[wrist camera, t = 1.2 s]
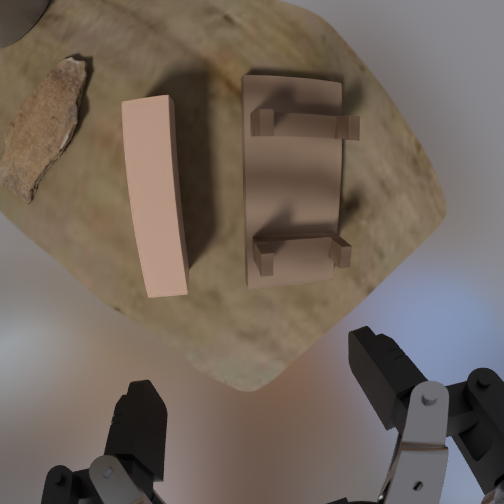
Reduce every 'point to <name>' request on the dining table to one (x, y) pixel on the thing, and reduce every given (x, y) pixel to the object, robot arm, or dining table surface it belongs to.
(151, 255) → the clay bar
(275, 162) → the brown cradle stand
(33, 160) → the pottery shard
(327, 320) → the dining table surface
